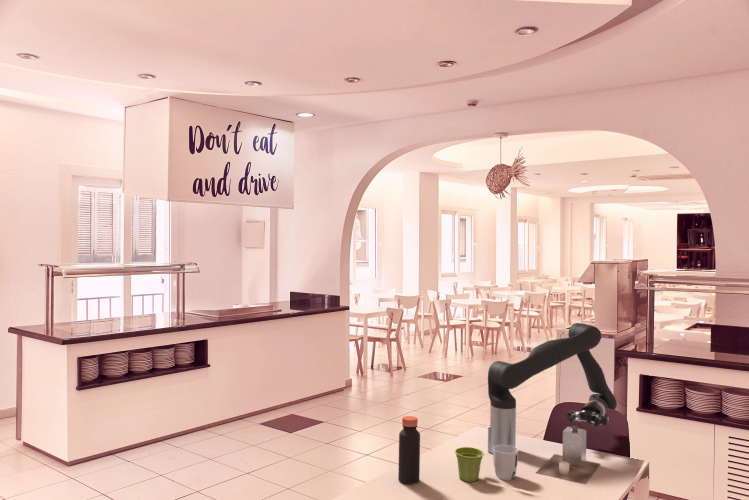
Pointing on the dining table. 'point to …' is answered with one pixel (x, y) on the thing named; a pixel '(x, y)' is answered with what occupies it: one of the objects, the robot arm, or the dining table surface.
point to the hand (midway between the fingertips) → (583, 422)
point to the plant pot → (469, 463)
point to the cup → (505, 461)
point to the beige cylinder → (563, 468)
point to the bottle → (409, 451)
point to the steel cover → (574, 446)
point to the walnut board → (575, 472)
